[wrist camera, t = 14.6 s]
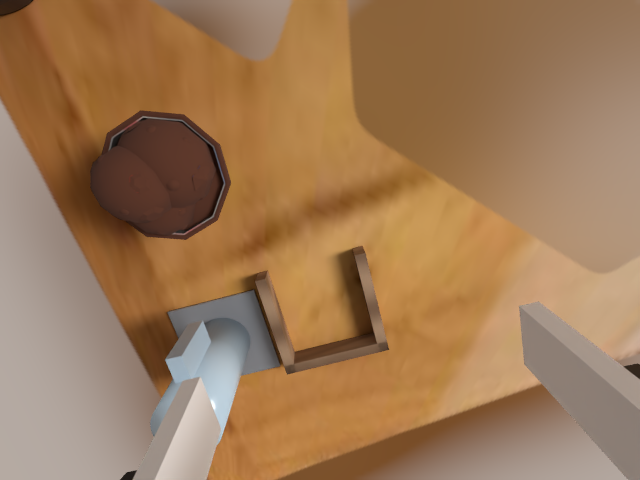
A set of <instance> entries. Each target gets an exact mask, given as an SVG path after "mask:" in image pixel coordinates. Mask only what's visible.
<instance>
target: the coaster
mask: <svg viewBox="0 0 640 480" xmlns="http://www.w3.org/2000/svg"><path fill="white" fill-rule="evenodd" d="M168 315H169V317H170V320H171V322H172V324H173V327H174V329H175V331H176V334H177V336H178V338H180V336H181V335H182V333H183V332H184V330H185V328H186V327H187V325H188V324H189V323H193V322H198V321H202V320H203V322H204V325H205V324H206V323H208V322H209V321H211V320H213V319H217V318H230V319H233V320H235V321H237V322H239V323H241V324H242V325H243V326H244V327H245V328H246V329H247V331H248V333H249V335H250V341H251V342H250V348H249V351H248V354H247V358H246V361H245V364H244V367H243V370H242V374H241V376H242V375H246V374H250V373H254V372H258V371H262V370H266V369H270V368H275V367H279V366H280V362H279V359H278V356H277V354H276V351H275V348H274V345H273V342H272V339H271V336H270V333H269V331H268V328H267V325H266V322H265V319H264V316H263V313H262V311H261V308H260V305H259V302H258V299H257V296H256V293H255V290H250V291H246V292H242V293H238V294H235V295H231V296H227V297H223V298H219V299H215V300H211V301H207V302H203V303H199V304H196V305H192V306H188V307H184V308H180V309H176V310H172V311H168Z"/></svg>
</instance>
